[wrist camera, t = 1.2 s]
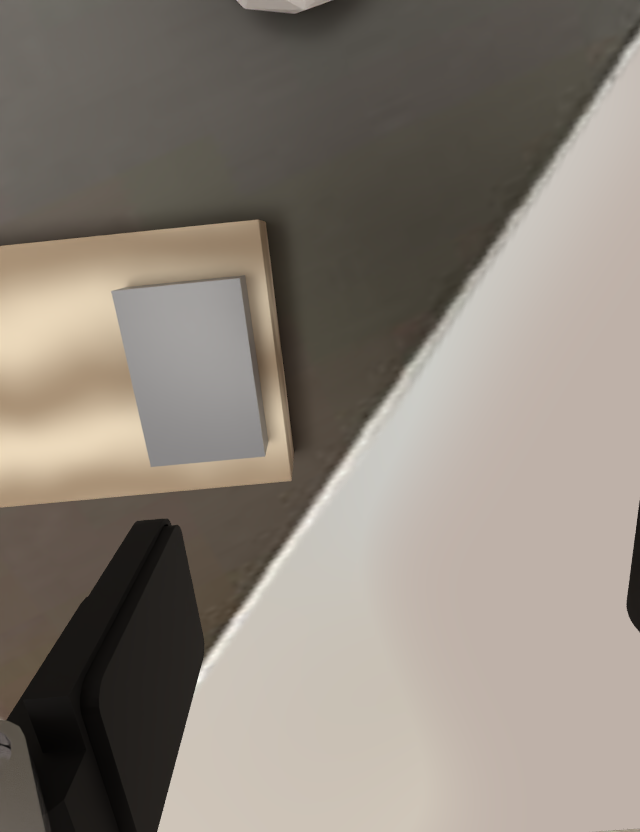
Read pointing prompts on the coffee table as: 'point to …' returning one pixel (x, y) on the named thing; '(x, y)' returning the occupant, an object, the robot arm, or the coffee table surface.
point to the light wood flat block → (116, 363)
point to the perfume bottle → (281, 5)
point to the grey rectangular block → (193, 369)
